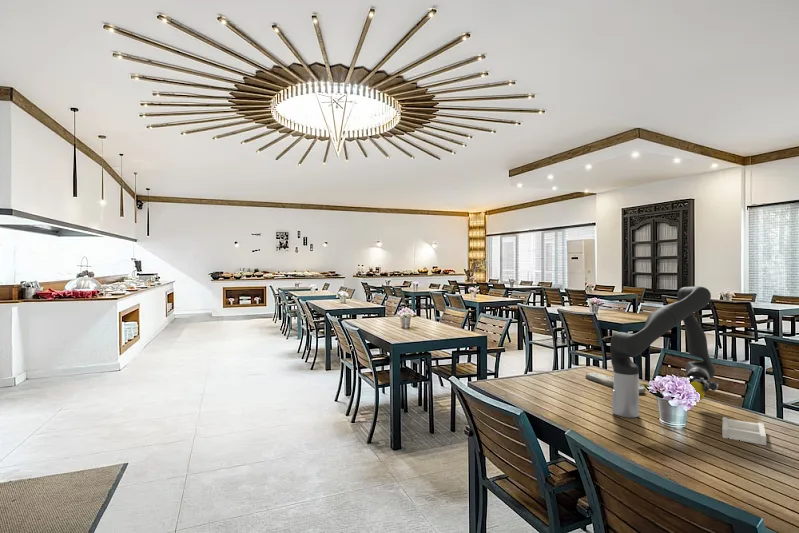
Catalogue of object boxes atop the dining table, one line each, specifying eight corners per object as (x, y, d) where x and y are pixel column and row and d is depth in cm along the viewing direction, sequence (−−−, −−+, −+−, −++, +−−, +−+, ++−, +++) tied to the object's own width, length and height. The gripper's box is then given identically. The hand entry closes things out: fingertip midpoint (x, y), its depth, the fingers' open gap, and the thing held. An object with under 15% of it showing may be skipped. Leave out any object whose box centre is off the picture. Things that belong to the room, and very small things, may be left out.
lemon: (707, 404, 166) (707, 383, 166) (690, 403, 167) (690, 382, 167) (700, 400, 171) (700, 379, 171) (684, 399, 172) (684, 378, 172)
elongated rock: (595, 378, 244) (580, 381, 240) (594, 369, 244) (579, 372, 240) (652, 392, 211) (636, 396, 208) (651, 381, 211) (635, 384, 208)
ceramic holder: (722, 437, 158) (722, 429, 158) (722, 424, 170) (722, 416, 170) (766, 445, 151) (766, 436, 151) (763, 431, 163) (763, 423, 163)
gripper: (677, 366, 185) (673, 374, 171) (719, 371, 176) (719, 380, 162) (676, 384, 185) (672, 394, 171) (719, 390, 176) (719, 401, 163)
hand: (695, 387), depth 167 cm, fingers closed on lemon, 5 cm apart
